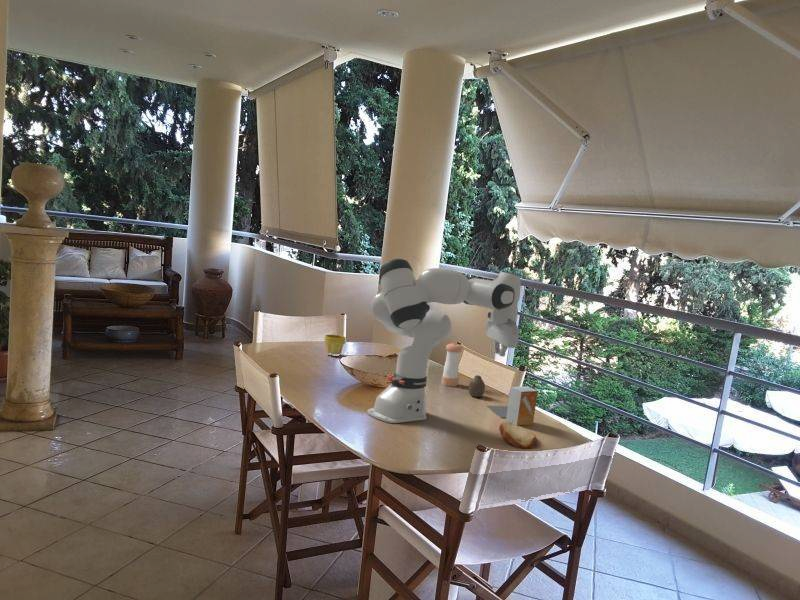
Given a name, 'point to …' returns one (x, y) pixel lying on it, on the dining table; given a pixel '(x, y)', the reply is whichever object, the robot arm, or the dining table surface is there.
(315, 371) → the dining table surface
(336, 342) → the plant pot
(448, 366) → the pepper shaker
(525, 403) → the small box
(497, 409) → the mat
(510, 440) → the bread slice
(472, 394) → the avocado
